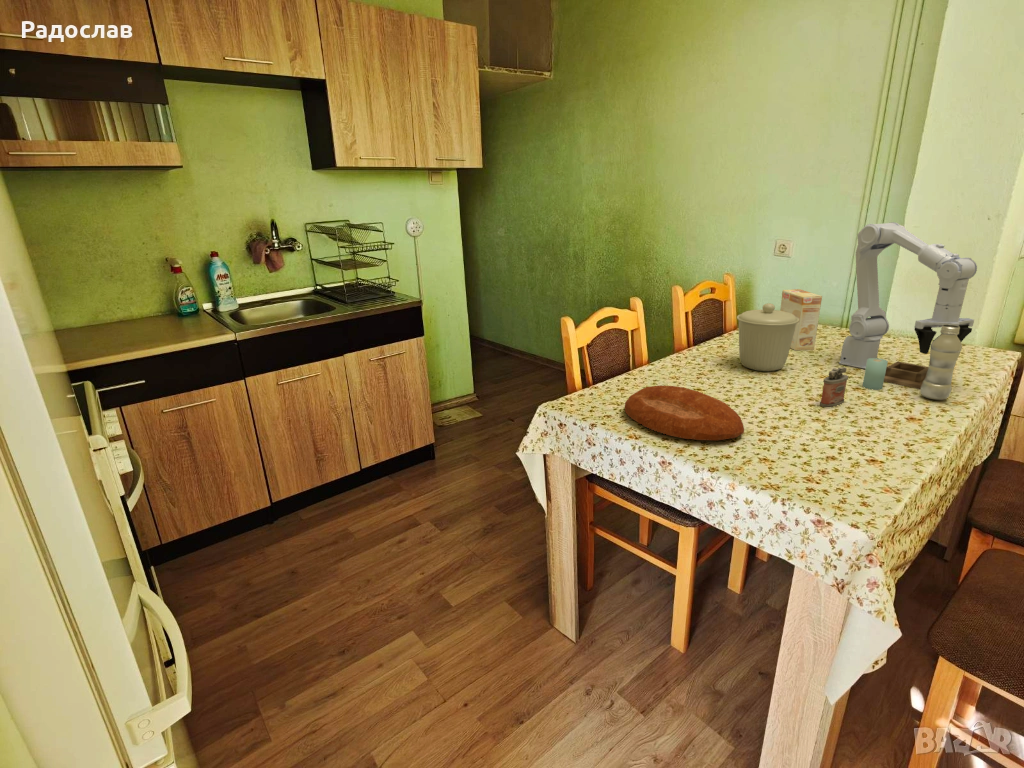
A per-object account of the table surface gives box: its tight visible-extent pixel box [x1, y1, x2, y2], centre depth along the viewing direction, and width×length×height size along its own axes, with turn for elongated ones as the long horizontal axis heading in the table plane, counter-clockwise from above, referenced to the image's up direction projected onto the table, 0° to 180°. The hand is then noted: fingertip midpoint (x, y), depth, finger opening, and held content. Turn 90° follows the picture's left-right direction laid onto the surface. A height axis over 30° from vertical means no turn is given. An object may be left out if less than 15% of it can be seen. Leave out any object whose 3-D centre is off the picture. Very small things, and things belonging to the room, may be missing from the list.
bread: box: [624, 385, 745, 442], centre depth 133 cm, size 23×32×9 cm
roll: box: [862, 357, 889, 391], centre depth 150 cm, size 5×5×8 cm
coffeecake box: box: [779, 288, 823, 351], centre depth 191 cm, size 15×7×20 cm, turn 179°
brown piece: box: [883, 361, 929, 390], centre depth 155 cm, size 14×14×4 cm
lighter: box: [819, 366, 849, 408], centre depth 139 cm, size 8×3×10 cm, turn 117°
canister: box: [736, 302, 799, 372], centre depth 169 cm, size 18×18×21 cm
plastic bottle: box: [920, 325, 963, 401], centre depth 138 cm, size 6×7×20 cm
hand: (937, 352), depth 146 cm, fingers open, 7 cm apart
